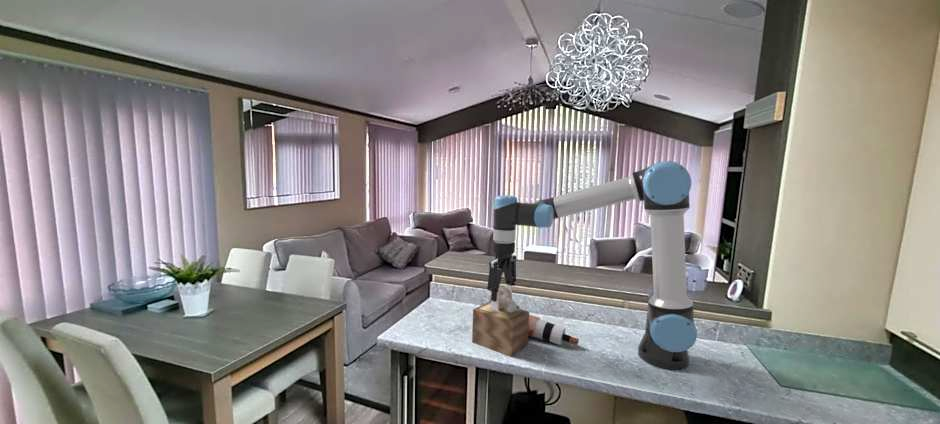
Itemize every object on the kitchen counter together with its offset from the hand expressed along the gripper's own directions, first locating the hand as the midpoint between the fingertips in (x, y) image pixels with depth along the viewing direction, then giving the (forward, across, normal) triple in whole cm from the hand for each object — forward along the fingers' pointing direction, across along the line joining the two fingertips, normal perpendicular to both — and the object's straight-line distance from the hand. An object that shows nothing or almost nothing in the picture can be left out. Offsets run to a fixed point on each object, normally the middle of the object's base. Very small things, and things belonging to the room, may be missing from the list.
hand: (501, 306), depth 134 cm
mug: (0, 0, +2) cm, 2 cm away
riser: (+14, 0, 0) cm, 14 cm away
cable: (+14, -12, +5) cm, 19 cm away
